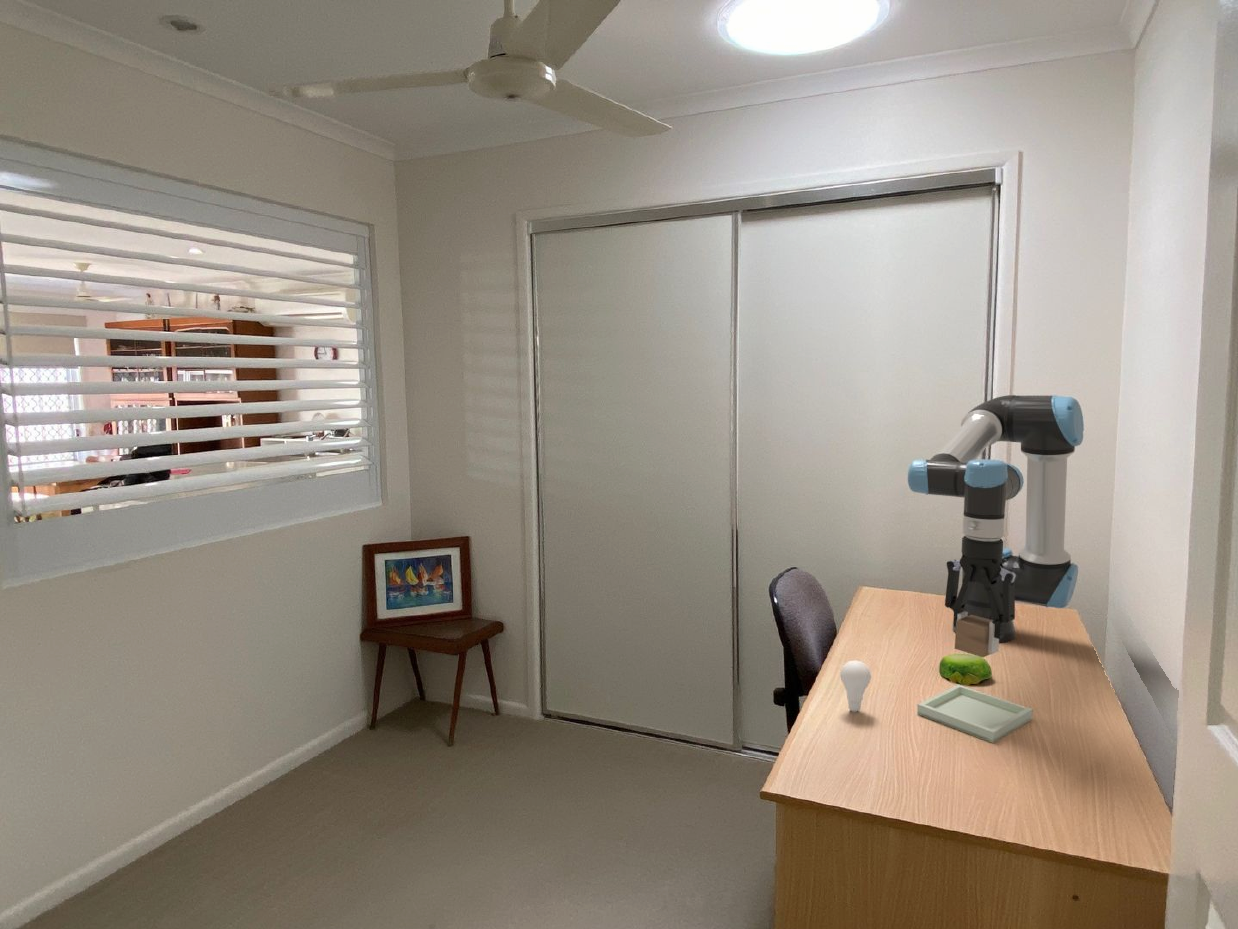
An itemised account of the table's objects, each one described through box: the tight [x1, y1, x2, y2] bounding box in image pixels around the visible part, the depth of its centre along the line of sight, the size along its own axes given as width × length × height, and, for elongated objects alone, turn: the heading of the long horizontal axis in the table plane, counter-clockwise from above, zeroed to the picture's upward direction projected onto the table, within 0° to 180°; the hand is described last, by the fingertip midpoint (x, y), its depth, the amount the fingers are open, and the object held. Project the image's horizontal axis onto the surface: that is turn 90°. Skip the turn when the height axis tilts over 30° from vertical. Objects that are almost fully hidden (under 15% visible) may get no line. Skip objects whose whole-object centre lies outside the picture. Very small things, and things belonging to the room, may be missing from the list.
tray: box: [916, 683, 1034, 744], centre depth 161 cm, size 16×16×2 cm
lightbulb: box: [839, 660, 872, 713], centre depth 163 cm, size 6×6×11 cm
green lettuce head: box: [938, 653, 993, 686], centre depth 182 cm, size 12×11×5 cm
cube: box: [954, 615, 994, 658], centre depth 159 cm, size 6×6×6 cm
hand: (976, 647), depth 159 cm, fingers closed on cube, 6 cm apart
